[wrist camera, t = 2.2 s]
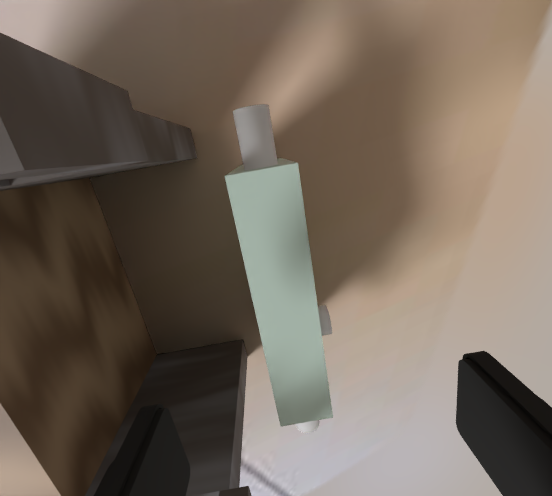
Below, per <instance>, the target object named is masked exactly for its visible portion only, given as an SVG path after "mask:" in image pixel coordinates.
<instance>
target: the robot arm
mask: <svg viewBox="0 0 552 496" xmlns="http://www.w3.org/2000/svg"><path fill="white" fill-rule="evenodd" d="M457 389H458V390H457V411H456V425H457V428H458V431H459V433H460V435H461V436H462V438H463V439H464V441H465V442H466V443H467V445H468V446H469V448H470V449H471V451H472V452H473V454H474V455H475V456H476V458H477V459H478V461H479V462H480V464H481V465H482V467H483V468H484V469H485V471H486V472H487V474H488V475H489V476H490V478H491V479H492V481H493V482H494V484H495V485H496V487H497V488H498V489H499V491H500V492H501V494H502V495H503V496H552V407H550V406H549V405H548V404H547V403H546V402H545V401H544V400H542V399H541V398H539V397H538V396H537V395H535V394H534V393H533V392H532V391H531V390H530V389H529V388H527V387H526V386H525V385H524V384H523V383H522V382H521V381H520V380H518V379H517V378H516V377H515V376H514V375H513V374H512V373H511V372H509V371H508V370H507V369H506V368H505V367H504V366H503V365H501V364H500V363H499V362H498V361H497V360H496V359H495V358H493V357H492V356H491V355H490V354H489V353H487V352H485V351H480V352H475V353H469V354H464V355H463V359H462V360H460V361H459V366H458V388H457ZM189 480H190V464H189V462H188V459H187V456H186V454H185V451H184V448H183V446H182V443H181V440H180V438H179V435H178V433H177V430H176V427H175V425H174V422H173V419H172V417H171V414H170V412H169V409H168V408H164V407H163V405H162V404H156V405H150V406H144V407H142V408H140V410H139V412H138V414H137V416H136V418H135V420H134V422H133V424H132V426H131V428H130V430H129V432H128V434H127V436H126V438H125V440H124V442H123V444H122V446H121V448H120V450H119V452H118V454H117V456H116V458H115V460H114V461H113V462H112V463H111V464H110V466H109V467H108V469H107V471H106V472H105V474H104V476H103V478H102V480H101V482H100V484H99V486H98V488H97V490H96V492H95V494H94V496H186V492H187V488H188V484H189Z"/></svg>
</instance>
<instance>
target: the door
mask: <svg viewBox="0 0 552 496" xmlns="http://www.w3.org/2000/svg"><path fill="white" fill-rule="evenodd" d="M233 115H234V120H235V125H236V130H237V135H238V140H239V145H240V150H241V155H242V160H243V165H240V166H239V167H237V168H236V169H234V170H233V171H231V172H230V173H228V174H227V175H225V180H226V185H227V189H228V194H229V198H230V203H231V207H232V211H233V216H234V220H235V225H236V229H237V234H238V238H239V243H240V247H241V252H242V256H243V260H244V265H245V269H246V274H247V278H248V283H249V287H250V292H251V296H252V301H253V305H254V309H255V314H256V318H257V323H258V327H259V332H260V336H261V341H262V345H263V350H264V354H265V358H266V363H267V367H268V372H269V376H270V381H271V385H272V390H273V394H274V399H275V403H276V407H277V412H278V416H279V421H280V425H281V426H287V425H292V424H295V425H296V428H297V429H298V430H299V431H300V432H302V433H307V434H308V433H312V432H314V431H315V430H316V429H317V428H318V426H319V420H321V419H327V418H333V414H332V407H331V400H330V392H329V385H328V378H327V370H326V363H325V356H324V349H323V341H322V335H328V334H332V327H331V321H330V316H329V312H328V309H327V306H326V305H321V306H318V305H317V298H316V290H315V283H314V276H313V269H312V261H311V254H310V247H309V240H308V232H307V225H306V218H305V211H304V203H303V196H302V189H301V181H300V174H299V167H298V163H297V162H293V161H290V160H287V159H283V158H277V155H276V149H275V143H274V136H273V130H272V124H271V118H270V111H269V105H266V104H261V105H253V106H247V107H243V108H239V109H236V110H234V111H233Z"/></svg>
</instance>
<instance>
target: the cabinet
mask: <svg viewBox="0 0 552 496" xmlns="http://www.w3.org/2000/svg"><path fill="white" fill-rule="evenodd" d="M196 158H197V155H196V151H195V147H194V143H193V139H192V135H191V131H190V129H189V128H186V127H183V126H180V125H177V124H174V123H171V122H168V121H165V120H162V119H159V118H156V117H153V116H150V115H147V114H144V113H141V112H138V111H135V110H133V108H132V105H131V101H130V98H129V95H128V91H126V90H124V89H122V88H120V87H118V86H115V85H113V84H111V83H109V82H107V81H104V80H102V79H100V78H98V77H96V76H94V75H91V74H89V73H87V72H85V71H83V70H81V69H78V68H76V67H74V66H72V65H70V64H67V63H65V62H63V61H61V60H59V59H57V58H54V57H52V56H50V55H48V54H46V53H43V52H41V51H39V50H37V49H35V48H33V47H30V46H28V45H26V44H24V43H22V42H19V41H17V40H15V39H13V38H11V37H9V36H6V35H4V34H2V33H0V496H94V494H95V492H96V490H97V488H98V486H99V484H100V482H101V480H102V478H103V476H104V474H105V472H106V471H107V469H108V467H109V466H110V464H111V463H112V462H113V461H114V460H115V458H116V456H117V454H118V452H119V450H120V448H121V446H122V444H123V442H124V440H125V438H126V436H127V434H128V432H129V430H130V428H131V426H132V424H133V422H134V420H135V418H136V416H137V414H138V412H139V410H140V408H142V407H144V406H150V405H156V404H162V405H163V407H164V408H168V409H169V412H170V414H171V417H172V419H173V422H174V425H175V427H176V430H177V433H178V435H179V438H180V440H181V443H182V446H183V448H184V451H185V454H186V456H187V459H188V462H189V464H190V480H189V484H188V488H187V492H186V496H251V493H250V489H249V486H245V487H240V488H239V481H240V465H241V450H242V434H243V418H244V402H245V386H246V370H247V354H246V350H245V346H244V342H243V340H238V341H233V342H227V343H221V344H216V345H210V346H204V347H199V348H193V349H187V350H182V351H176V352H170V353H165V354H159V355H157V354H156V352H155V349H154V346H153V344H152V341H151V339H150V336H149V333H148V331H147V328H146V325H145V323H144V320H143V318H142V315H141V312H140V310H139V307H138V304H137V302H136V299H135V297H134V294H133V291H132V289H131V286H130V284H129V281H128V278H127V276H126V273H125V270H124V268H123V265H122V263H121V260H120V257H119V255H118V252H117V249H116V247H115V244H114V242H113V239H112V236H111V234H110V231H109V229H108V226H107V223H106V221H105V218H104V215H103V213H102V210H101V208H100V205H99V202H98V200H97V197H96V194H95V192H94V189H93V187H92V184H91V181H90V179H89V178H90V177H96V176H101V175H107V174H112V173H118V172H124V171H129V170H135V169H140V168H146V167H151V166H157V165H162V164H168V163H174V162H179V161H185V160H190V159H196Z"/></svg>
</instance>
